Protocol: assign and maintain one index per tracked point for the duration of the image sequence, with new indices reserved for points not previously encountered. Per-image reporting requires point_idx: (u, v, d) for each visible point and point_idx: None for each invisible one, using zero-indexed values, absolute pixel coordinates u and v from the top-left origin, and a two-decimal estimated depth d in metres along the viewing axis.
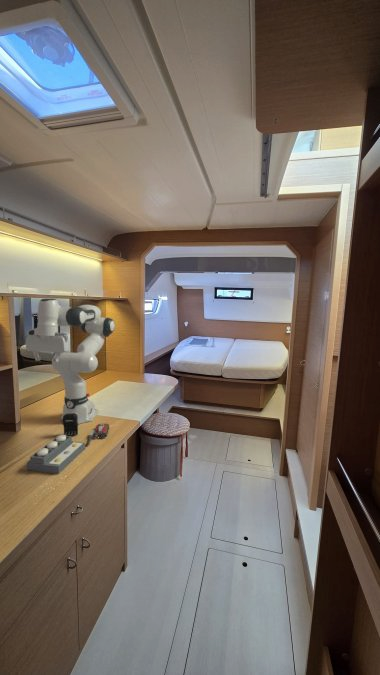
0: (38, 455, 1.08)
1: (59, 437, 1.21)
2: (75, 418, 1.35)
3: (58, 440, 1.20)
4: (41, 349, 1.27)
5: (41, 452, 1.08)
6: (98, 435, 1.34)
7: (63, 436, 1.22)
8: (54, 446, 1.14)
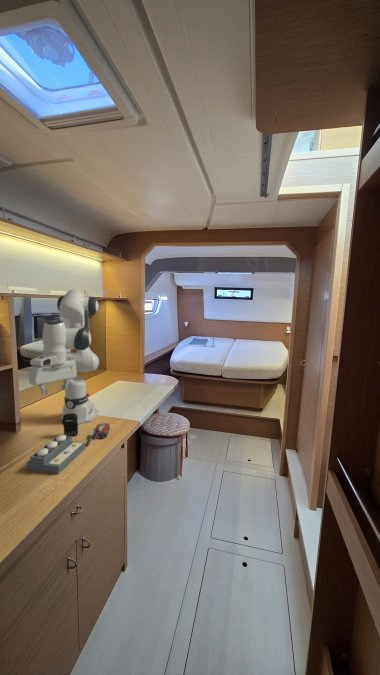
0: (38, 455, 1.08)
1: (59, 437, 1.21)
2: (75, 418, 1.35)
3: (58, 440, 1.20)
4: (54, 379, 1.11)
5: (41, 452, 1.08)
6: (98, 435, 1.34)
7: (63, 436, 1.22)
8: (54, 446, 1.14)
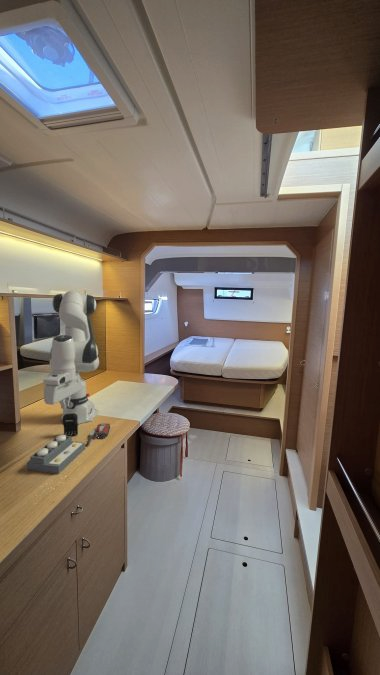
0: (38, 455, 1.08)
1: (59, 437, 1.21)
2: (75, 418, 1.35)
3: (58, 440, 1.20)
4: (66, 396, 1.10)
5: (41, 452, 1.08)
6: (98, 435, 1.34)
7: (63, 436, 1.22)
8: (54, 446, 1.14)
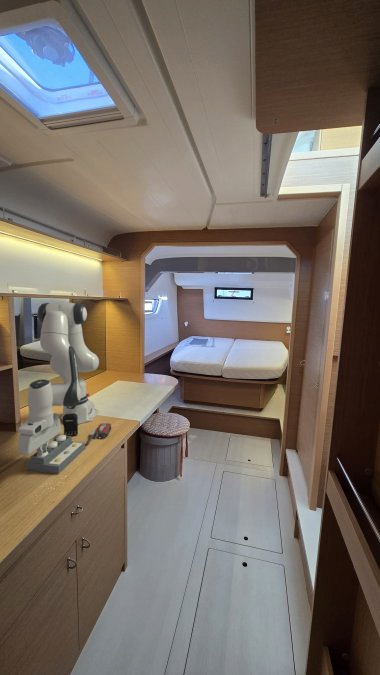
0: None
1: (59, 437, 1.21)
2: (75, 418, 1.35)
3: (58, 440, 1.20)
4: (43, 442, 1.07)
5: None
6: (99, 435, 1.34)
7: (63, 436, 1.22)
8: (54, 446, 1.14)
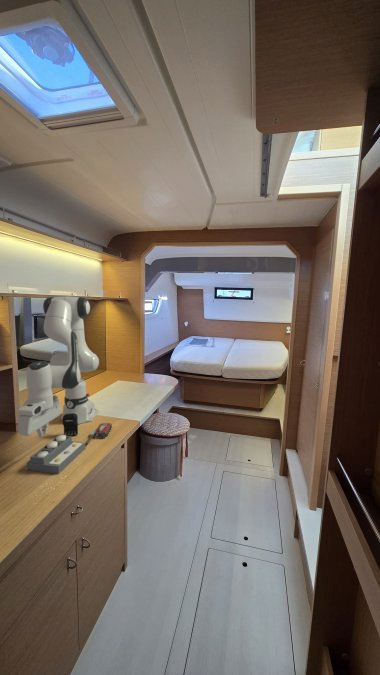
0: None
1: (59, 437, 1.21)
2: (75, 418, 1.35)
3: (58, 440, 1.20)
4: (43, 424, 1.07)
5: (41, 455, 1.09)
6: (99, 435, 1.34)
7: (63, 436, 1.22)
8: (54, 446, 1.14)
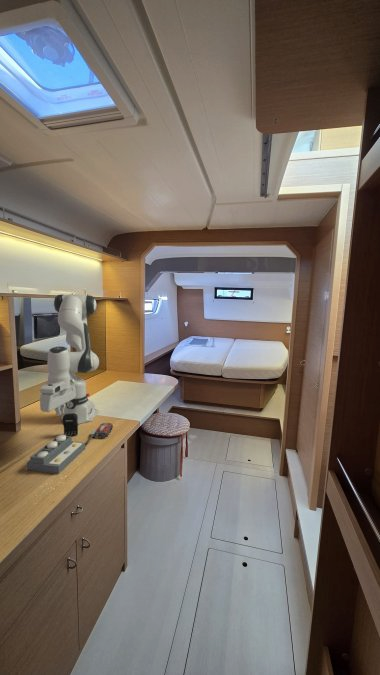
0: None
1: (59, 437, 1.21)
2: (75, 418, 1.35)
3: (58, 440, 1.20)
4: (61, 403, 1.18)
5: (41, 455, 1.09)
6: (99, 434, 1.35)
7: (63, 436, 1.22)
8: (54, 446, 1.14)
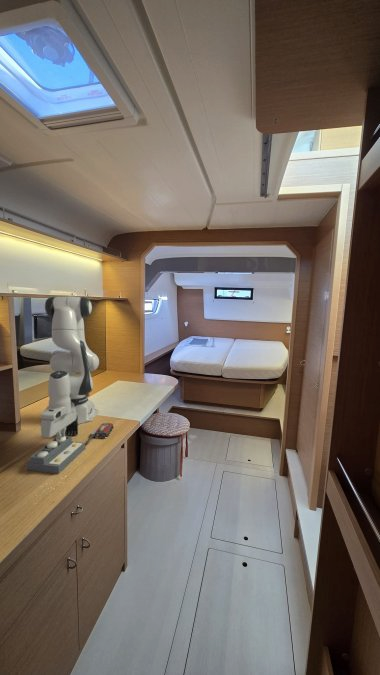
0: None
1: None
2: None
3: (58, 441, 1.20)
4: (61, 427, 1.19)
5: (41, 455, 1.09)
6: (99, 434, 1.35)
7: (63, 437, 1.22)
8: (54, 446, 1.14)
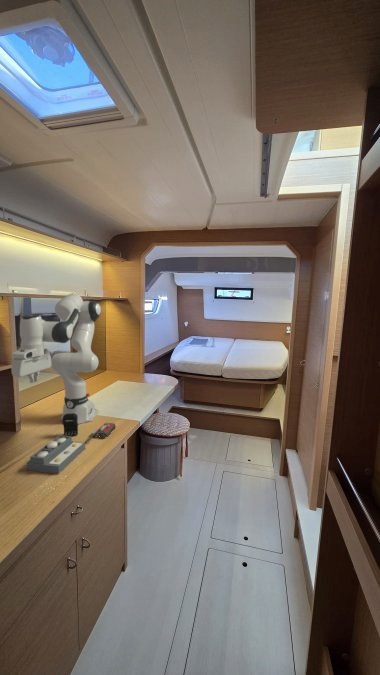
0: None
1: (59, 440, 1.21)
2: (75, 418, 1.35)
3: None
4: (34, 370, 1.18)
5: (41, 455, 1.09)
6: (99, 434, 1.35)
7: (63, 439, 1.22)
8: (54, 446, 1.14)
